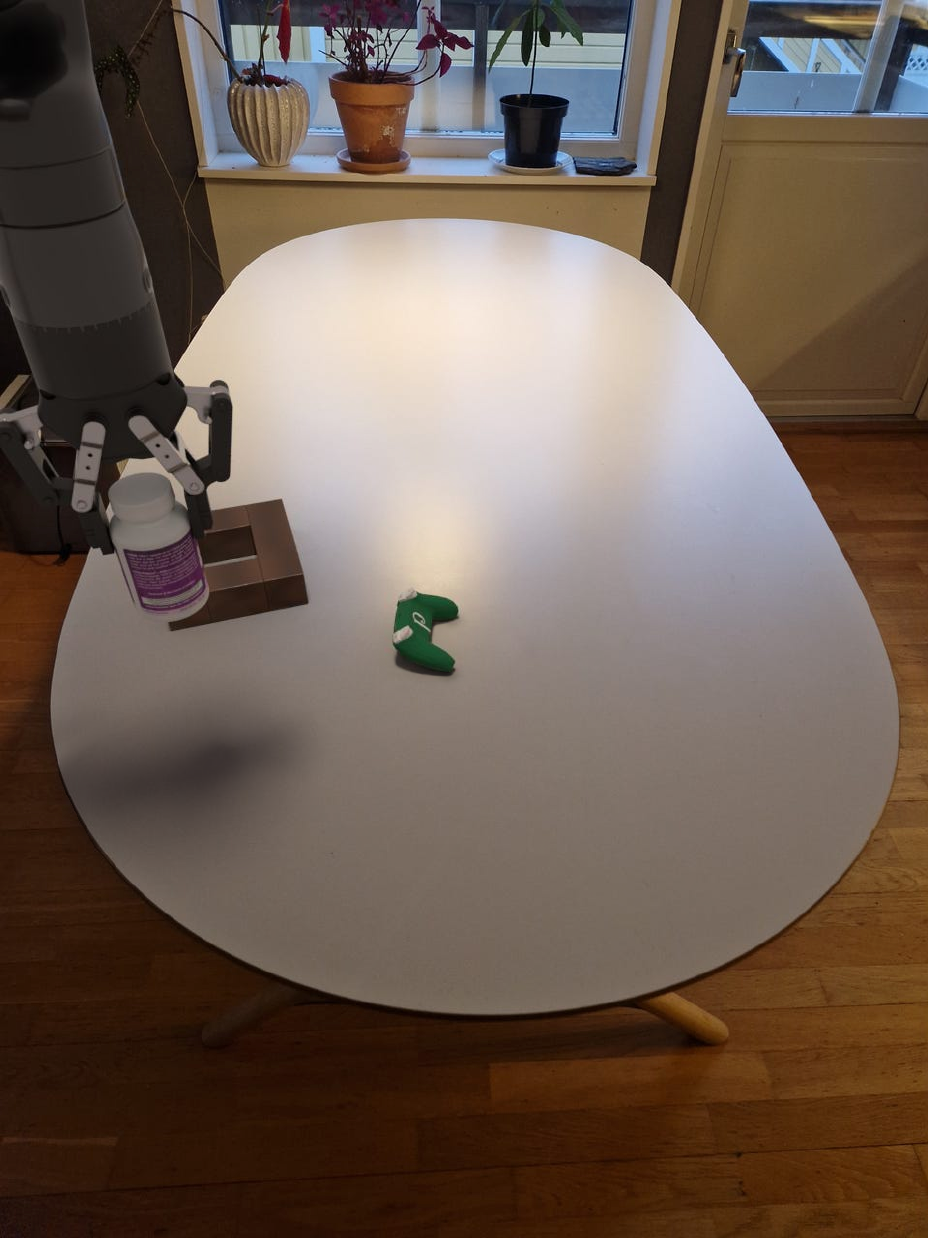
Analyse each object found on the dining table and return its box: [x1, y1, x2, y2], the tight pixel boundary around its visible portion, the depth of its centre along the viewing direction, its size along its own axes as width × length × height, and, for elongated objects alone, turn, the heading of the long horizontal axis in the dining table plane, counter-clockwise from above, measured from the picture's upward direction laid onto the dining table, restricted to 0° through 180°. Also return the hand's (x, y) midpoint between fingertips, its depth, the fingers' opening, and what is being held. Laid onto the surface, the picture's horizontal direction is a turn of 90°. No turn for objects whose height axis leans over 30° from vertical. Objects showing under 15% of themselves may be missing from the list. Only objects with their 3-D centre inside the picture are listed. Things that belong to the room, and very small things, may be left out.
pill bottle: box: [107, 471, 209, 623], centre depth 59 cm, size 5×5×10 cm
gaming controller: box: [391, 587, 460, 673], centre depth 84 cm, size 9×4×6 cm
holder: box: [167, 498, 309, 631], centre depth 91 cm, size 14×14×4 cm
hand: (154, 539), depth 58 cm, fingers closed on pill bottle, 5 cm apart
